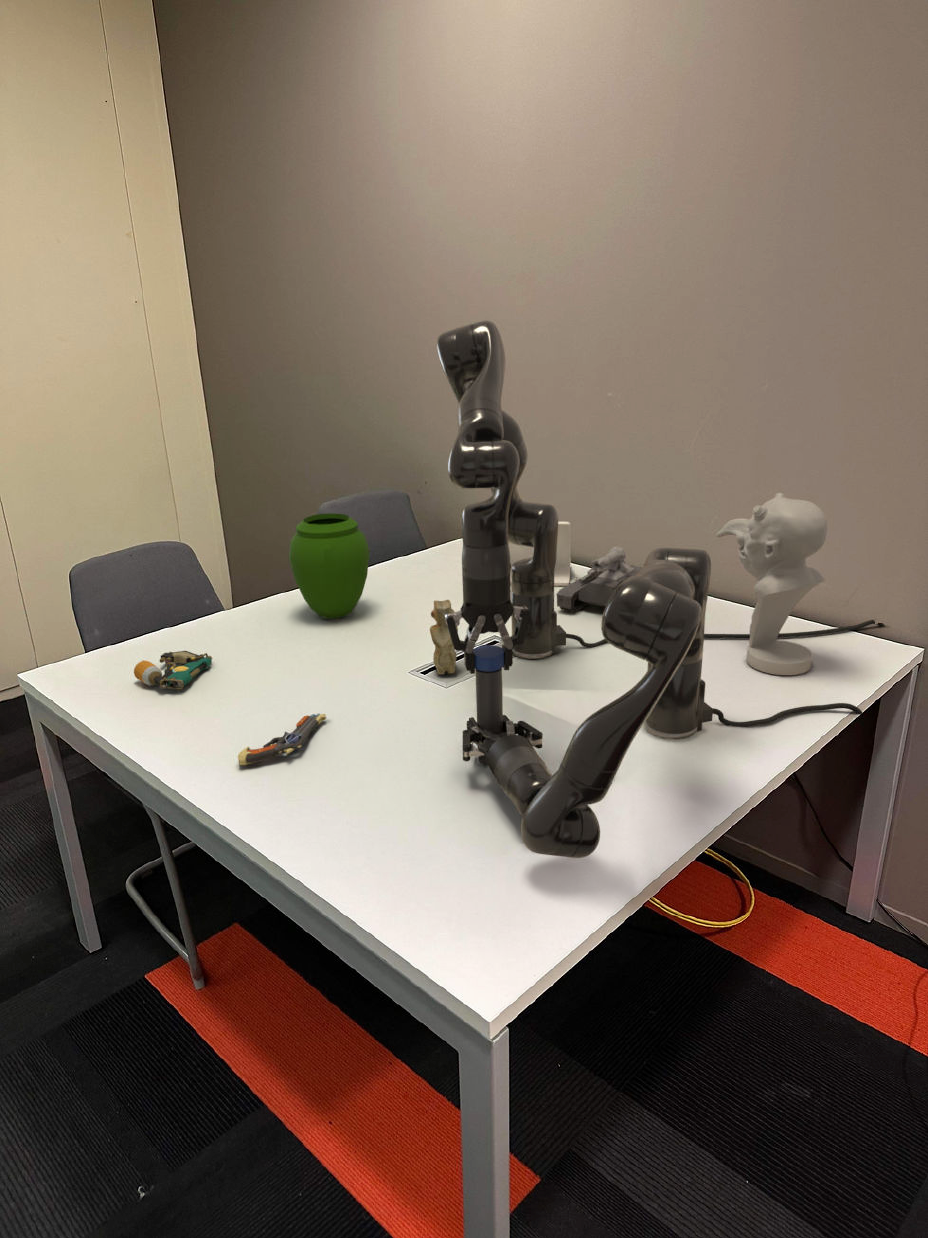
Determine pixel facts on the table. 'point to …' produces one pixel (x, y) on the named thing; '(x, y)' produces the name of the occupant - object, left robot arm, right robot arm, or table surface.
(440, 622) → the sculpture
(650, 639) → the right robot arm
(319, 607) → the vase
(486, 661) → the lid
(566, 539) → the tablet stand
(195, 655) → the spray gun
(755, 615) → the bust sculpture
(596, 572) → the toy
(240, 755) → the toy gun
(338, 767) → the table surface
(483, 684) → the dark grey capped cylinder
